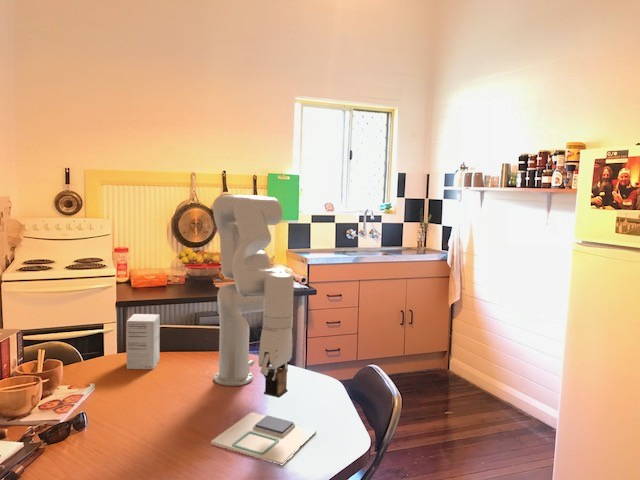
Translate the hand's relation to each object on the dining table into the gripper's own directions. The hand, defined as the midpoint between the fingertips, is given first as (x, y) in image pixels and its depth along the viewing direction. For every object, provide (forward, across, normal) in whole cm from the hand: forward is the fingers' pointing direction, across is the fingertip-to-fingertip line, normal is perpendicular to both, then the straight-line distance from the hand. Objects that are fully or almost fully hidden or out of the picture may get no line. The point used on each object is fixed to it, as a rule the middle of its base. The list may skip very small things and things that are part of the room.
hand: (275, 389), depth 130 cm
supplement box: (+11, -19, -63) cm, 67 cm away
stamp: (+1, 0, 0) cm, 1 cm away
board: (+11, +4, 0) cm, 12 cm away
